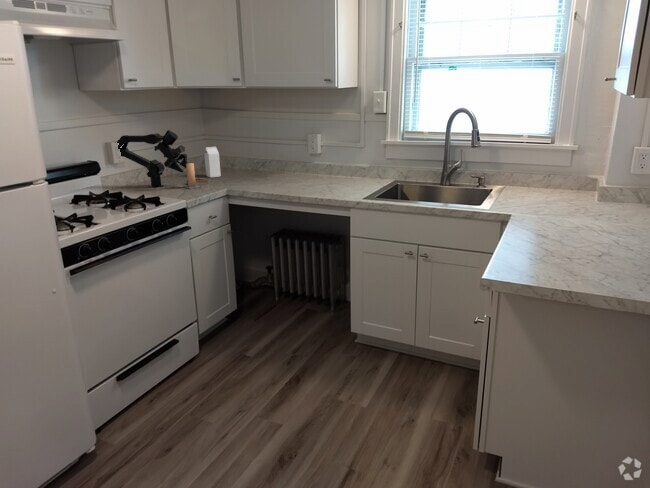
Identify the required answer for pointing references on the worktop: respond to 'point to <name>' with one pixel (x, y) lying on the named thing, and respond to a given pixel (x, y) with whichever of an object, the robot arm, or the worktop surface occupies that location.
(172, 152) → the robot arm
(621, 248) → the worktop surface
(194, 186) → the slate rubber pad
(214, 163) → the milk carton
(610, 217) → the worktop surface
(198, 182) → the walnut socket block
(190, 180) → the peach rounded cylinder
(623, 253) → the worktop surface
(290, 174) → the worktop surface
